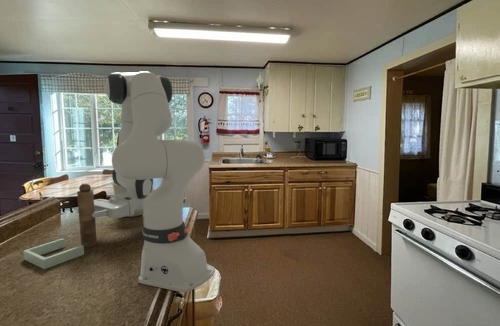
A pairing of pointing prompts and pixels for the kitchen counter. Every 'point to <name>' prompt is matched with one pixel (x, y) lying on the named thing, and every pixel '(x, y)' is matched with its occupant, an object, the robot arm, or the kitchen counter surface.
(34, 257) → the box
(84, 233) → the pepper mill
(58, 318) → the kitchen counter surface
